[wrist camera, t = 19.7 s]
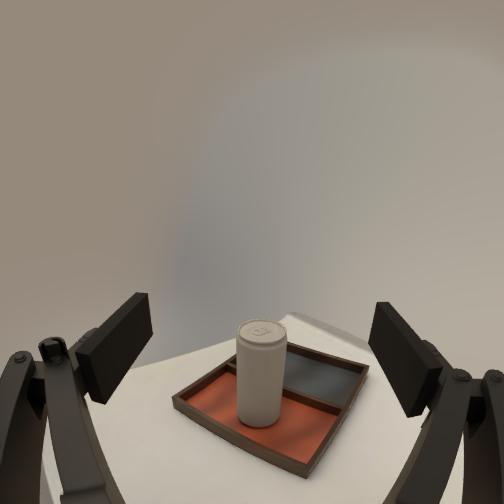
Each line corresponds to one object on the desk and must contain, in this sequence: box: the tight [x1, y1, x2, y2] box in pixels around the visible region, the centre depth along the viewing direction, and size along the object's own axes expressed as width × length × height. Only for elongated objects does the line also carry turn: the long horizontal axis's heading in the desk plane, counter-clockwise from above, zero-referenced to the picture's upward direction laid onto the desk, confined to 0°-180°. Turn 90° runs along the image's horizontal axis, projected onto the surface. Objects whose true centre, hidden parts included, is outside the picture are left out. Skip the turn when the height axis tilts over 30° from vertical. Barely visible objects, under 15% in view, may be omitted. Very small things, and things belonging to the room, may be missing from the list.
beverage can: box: [236, 319, 287, 428], centre depth 28 cm, size 5×5×12 cm
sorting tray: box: [172, 342, 370, 479], centre depth 33 cm, size 18×20×2 cm
